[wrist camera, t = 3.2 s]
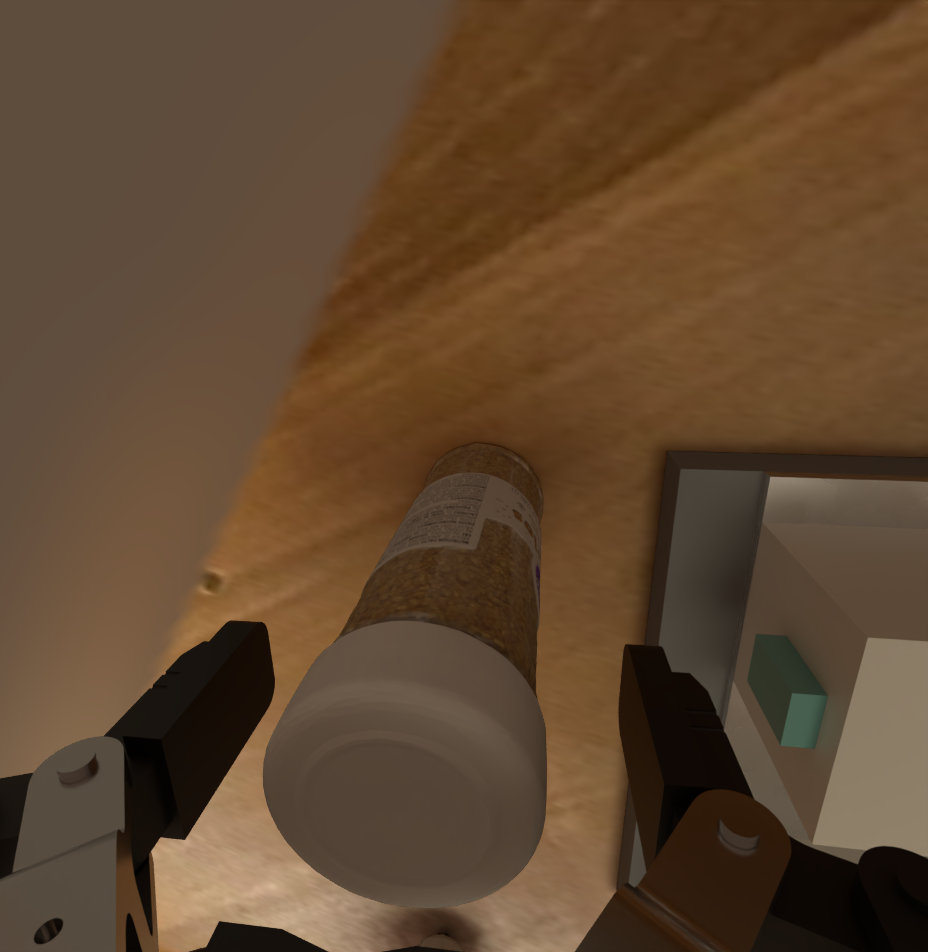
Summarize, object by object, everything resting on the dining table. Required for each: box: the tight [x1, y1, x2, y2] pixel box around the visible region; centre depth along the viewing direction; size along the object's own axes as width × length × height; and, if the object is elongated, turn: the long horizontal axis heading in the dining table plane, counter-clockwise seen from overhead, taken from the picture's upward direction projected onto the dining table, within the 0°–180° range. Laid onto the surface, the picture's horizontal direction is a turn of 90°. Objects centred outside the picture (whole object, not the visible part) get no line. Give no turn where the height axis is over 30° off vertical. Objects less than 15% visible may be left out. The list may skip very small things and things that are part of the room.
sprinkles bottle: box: [263, 443, 547, 908], centre depth 15 cm, size 5×5×14 cm
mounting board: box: [617, 451, 928, 890], centre depth 22 cm, size 22×11×2 cm, turn 1°
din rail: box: [720, 472, 928, 840], centre depth 20 cm, size 22×6×1 cm, turn 1°
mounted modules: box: [733, 522, 928, 864], centre depth 17 cm, size 19×7×6 cm, turn 0°
